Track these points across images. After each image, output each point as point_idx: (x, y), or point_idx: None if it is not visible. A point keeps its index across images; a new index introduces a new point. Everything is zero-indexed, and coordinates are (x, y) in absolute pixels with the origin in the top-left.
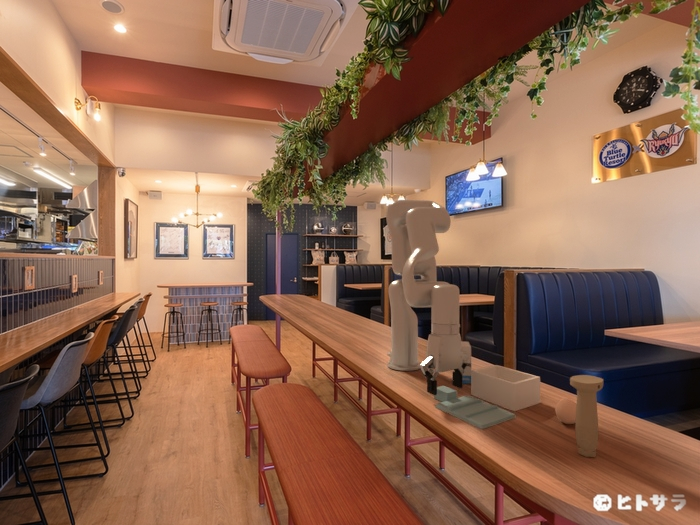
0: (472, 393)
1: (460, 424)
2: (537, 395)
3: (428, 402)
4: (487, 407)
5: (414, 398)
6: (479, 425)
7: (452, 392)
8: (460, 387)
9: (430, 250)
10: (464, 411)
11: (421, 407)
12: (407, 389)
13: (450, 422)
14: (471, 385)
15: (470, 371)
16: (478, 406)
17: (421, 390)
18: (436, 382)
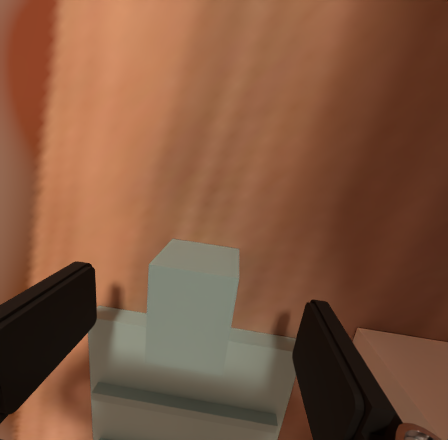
0: (360, 342)
1: (71, 424)
2: None
3: (112, 251)
4: None
5: (87, 169)
6: None
7: (186, 366)
8: (294, 361)
9: None
10: (131, 419)
11: (46, 266)
12: (152, 14)
13: (54, 400)
14: (392, 377)
15: None
16: (217, 430)
17: (213, 99)
18: (15, 404)
